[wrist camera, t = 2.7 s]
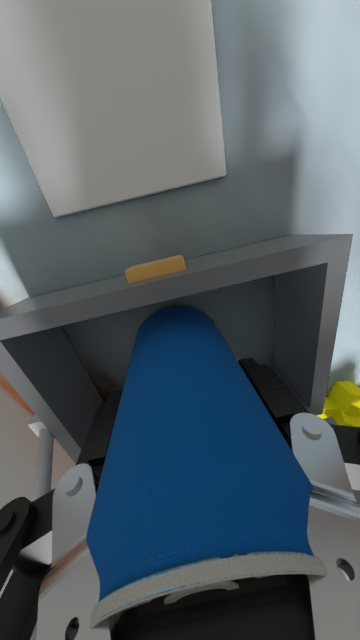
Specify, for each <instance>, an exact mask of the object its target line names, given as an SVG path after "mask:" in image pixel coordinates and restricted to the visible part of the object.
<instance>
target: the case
mask: <svg viewBox="0 0 360 640" xmlns="http://www.w3.org/2000/svg"><path fill="white" fill-rule="evenodd" d="M352 236H353V234H330V235H287V236H283V237H279V238H275V239H270V240H266V241H262V242H258V243H254V244H250V245H245V246H241V247H237V248H233V249H229V250H225V251H220V252H216V253H212V254H208V255H204V256H200V257H195V258H191V259H187V260H184V257H183V256H182V255H181V254H180V255H176V256H172V257H168V258H163V259H159V260H155V261H151V262H147V263H143V264H139V265H134V266H130V267H129V268H128V269H126V270H125V271H124V272H125V275H120V276H116V277H112V278H108V279H104V280H100V281H95V282H91V283H87V284H83V285H79V286H75V287H71V288H66V289H62V290H58V291H54V292H50V293H46V294H41V295H37V296H33V297H29V298H27V299H25V300H22V301H20V302H18V303H16V304H14V305H12V306H9V307H7V308H5V309H3V310H1V311H0V371H1V373H2V374H3V375H4V376H5V377H6V379H7V380H8V381H9V382H10V384H11V385H12V386H13V387H14V389H15V390H16V391H17V392H18V393H19V395H20V396H21V397H22V398H23V400H24V401H25V402H26V403H27V405H28V406H29V407H30V408H31V409H32V411H33V412H34V413H35V415H34V416H33V418H32V419H31V420H30V422H29V423H28V426H29V427H30V428H31V429H32V430H33V432H34V433H35V434H36V435H37V436H38V437H39V439H38V450H37V462H36V474H35V486H34V498H33V501H34V500H36V499H38V498H39V497H41V496H43V495H45V494H46V493H48V492H50V491H51V478H52V460H53V443H54V438H55V439H56V440H57V441H58V443H59V444H60V445H61V446H62V448H63V449H64V450H65V451H66V452H67V454H68V455H69V456H70V457H71V459H72V460H73V461H74V462H75V463H77V460H78V457H79V455H80V452H81V450H82V447H83V444H84V442H85V439H86V436H87V434H88V431H89V430H90V429H89V428H90V426H91V423H92V422H93V421H92V420H93V418H94V415H95V412H96V410H97V409H98V408H99V406H100V405H101V404H102V402H103V400H102V398H101V396H100V395H99V393H98V391H97V389H96V388H95V386H94V384H93V382H92V380H91V379H90V377H89V375H88V373H87V371H86V370H85V368H84V366H83V364H82V362H81V361H80V359H79V357H78V355H77V353H76V352H75V350H74V348H73V346H72V344H71V343H70V341H69V339H68V337H67V336H66V334H65V332H64V330H63V328H62V327H61V326H62V325H67V324H71V323H75V322H79V321H83V320H88V319H92V318H96V317H100V316H104V315H109V314H113V313H117V312H121V311H125V310H130V309H134V308H138V307H142V306H146V305H151V304H155V303H159V302H163V301H167V300H172V299H176V298H180V297H184V296H188V295H193V294H197V293H201V292H205V291H209V290H214V289H218V288H222V287H226V286H230V285H235V284H239V283H243V282H247V281H251V280H256V279H260V278H264V277H268V276H272V275H275V366H274V367H270V368H272V369H273V370H274V371H275V372H276V373H277V374H278V376H279V377H280V379H282V380H283V382H284V383H285V385H287V386H288V388H289V389H290V390H291V391H292V392H293V394H294V395H295V396H296V397H297V398H298V399H299V401H300V402H301V403H302V404H303V405H304V407H305V408H306V409H307V410H308V411H309V412H310V413H311V414H313V415H320V414H323V409H324V403H325V397H326V391H327V385H328V379H329V373H330V367H331V361H332V355H333V349H334V344H335V338H336V332H337V326H338V320H339V314H340V308H341V302H342V296H343V290H344V284H345V278H346V272H347V266H348V260H349V254H350V248H351V242H352ZM323 420H325V421H326V422H327V423H330V424H334V425H338V424H337V423H336V422H335V420H334V419H333V417H329V418H325V419H323ZM352 491H353V494H354V497H355V500H356V502H357V503H358V504H359V505H360V491H359V490H354V489H352ZM36 635H37V623H36V625H35V628H34V631H33V633H32V636H31V639H30V640H36Z"/></svg>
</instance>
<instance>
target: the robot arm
mask: <svg viewBox="0 0 360 640" xmlns="http://www.w3.org/2000/svg"><path fill="white" fill-rule="evenodd" d="M238 363H239V364H240V366H241V368H242V369H243V371H244V373H245V374H246V376H247V378H248V379H249V381H250V382H251V384H252V386H253V387H254V389H255V391H256V392H257V394H258V396H259V397H260V399H261V401H262V402H263V404H264V406H265V407H266V409H267V411H268V412H269V414H270V416H271V417H272V419H273V421H274V422H275V424H276V426H277V427H278V429H279V430H280V432H281V434H282V435H283V437H284V439H285V440H286V442H287V444H288V445H289V447H290V449H291V450H292V452H293V454H294V455H295V457H296V459H297V460H298V462H299V464H300V465H301V467H302V469H303V470H304V472H305V474H306V475H307V477H308V479H309V480H310V482H311V484H312V485H313V488H314V490H312V491H311V494H310V501H309V512H308V526H307V535H308V541H309V545H310V547H311V550H312V552H313V554H314V556H316V557H320V559H321V560H322V562H323V563H324V565H325V567H326V570H327V572H328V576H320V575H308V574H284V575H272V576H267V577H263V578H256V577H250V578H243V579H236V580H230V581H233V582H235V583H237V584H239V588H237V589H233V590H226V589H223V588H218V589H210V590H204V591H200V592H196V593H192V594H189V595H187V596H184V597H182V598H180V599H178V600H177V601H176V602H174V603H170V604H164V599H165V598H166V597H167V596H169V595H170V594H167V595H164V596H160V597H157V598H154V599H152V600H151V601H150V602H149V603H146V604H141V605H138V606H137V607H134V608H132V609H129V610H127V611H125V612H124V613H123V614H122V616H121V617H120V618H119V620H118V621H117V618H116V614H113V615H111V616H110V617H108V618H106V619H104V620H103V621H101V622H100V623H98V624H97V625H96V626H95V627H93V628H91V629H90V621H91V615H92V611H93V607H94V606H95V605H96V604H97V603H99V594H100V581H99V576H98V573H97V570H96V567H95V564H94V562H93V559H92V556H91V554H90V551H89V548H88V546H87V541H86V536H87V530H88V526H89V522H90V518H91V514H92V510H93V506H94V502H95V498H96V494H97V490H98V486H99V482H100V478H101V474H102V470H103V466H104V462H105V458H106V455H107V451H108V447H109V443H110V439H111V435H112V431H113V427H114V423H115V419H116V415H117V411H118V407H119V403H120V399H121V395H122V391H123V387H121V388H117V389H113V390H111V391H110V393H109V396H108V399H107V401H104V402H102V404H101V405H100V406H99V408H98V409H97V410H96V412H95V415H94V418H93V420H92V421H93V422H92V423H91V426H90V428H89V429H90V430H89V431H88V434H87V436H86V439H85V442H84V444H83V447H82V450H81V452H80V455H79V457H78V460H77V463H76V465H75V466H74V467H72V468H71V469H70V470H69V471H67V472H66V474H64V476H63V477H62V478H61V479H60V481H59V482H58V484H57V486H56V488H55V489H53V490H52V491H50V492H48V493H46V494H45V495H43V496H41V497H39V498H38V499H36V500H34V501H33V502H31V501H29V500H28V499H27V498H25V497H19V498H17V499H14V500H13V501H11V502H9V503H8V504H7V505H5V506H4V507H3V508H2V509H1V510H0V591H1V589H2V587H3V585H4V583H5V581H6V579H7V577H8V575H9V573H10V571H11V569H12V570H14V572H13V574H12V576H11V577H10V579H9V582H8V584H7V586H6V588H5V590H4V592H3V594H2V596H1V598H0V640H30V639H31V636H32V633H33V631H34V628H35V625H36V623H37V635H36V640H360V505H359V504H358V503H357V502H356V500H355V497H354V494H353V491H352V489H354V490H359V491H360V427H355V426H343V425H334V424H330V423H327V422H326V421H325V420H323V419H322V418H320V417H318V416H316V415H313V414H311V413H310V412H309V411H308V410H307V409H306V408H305V407H304V405H303V404H302V403H301V402H300V401H299V399H298V398H297V397H296V396H295V395H294V394H293V392H292V391H291V390H290V389H289V388H288V386H287V385H285V383H284V382H283V380H282V379H280V377H279V376H278V374H277V373H276V372H275V371H274V370H273V369H272V368H270V367H268V366H267V365H265V364H264V365H260V366H259V365H258V364H257V363H256V361H255V360H254V359H253V358H252V357H251V358H246V359H242V360H239V361H238ZM171 594H172V593H171Z"/></svg>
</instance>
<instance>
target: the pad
mask: <svg viewBox="0 0 360 640" xmlns="http://www.w3.org/2000/svg"><path fill="white" fill-rule="evenodd" d="M0 99H1V101H2V104H3V106H4V108H5V110H6V112H7V115H8V117H9V119H10V121H11V124H12V126H13V128H14V130H15V133H16V135H17V137H18V139H19V141H20V144H21V146H22V148H23V150H24V153H25V155H26V157H27V159H28V161H29V164H30V166H31V168H32V170H33V173H34V175H35V177H36V179H37V181H38V184H39V186H40V188H41V190H42V193H43V195H44V197H45V199H46V202H47V204H48V206H49V208H50V210H51V213H52V215H53V217H61V216H65V215H69V214H74V213H78V212H82V211H86V210H90V209H94V208H98V207H102V206H106V205H110V204H115V203H119V202H123V201H127V200H131V199H135V198H139V197H143V196H147V195H151V194H155V193H160V192H164V191H168V190H172V189H176V188H180V187H184V186H188V185H192V184H196V183H201V182H205V181H209V180H213V179H217V178H221V177H225V176H226V175H227V174H226V163H225V151H224V140H223V129H222V117H221V106H220V95H219V83H218V72H217V60H216V49H215V38H214V26H213V15H212V4H211V0H0Z"/></svg>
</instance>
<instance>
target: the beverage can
mask: <svg viewBox="0 0 360 640" xmlns="http://www.w3.org/2000/svg"><path fill="white" fill-rule="evenodd" d="M312 490H314V488H313V485H312V484H311V482H310V480H309V479H308V477H307V475H306V474H305V472H304V470H303V469H302V467H301V465H300V464H299V462H298V460H297V459H296V457H295V455H294V454H293V452H292V450H291V449H290V447H289V445H288V444H287V442H286V440H285V439H284V437H283V435H282V434H281V432H280V430H279V429H278V427H277V426H276V424H275V422H274V421H273V419H272V417H271V416H270V414H269V412H268V411H267V409H266V407H265V406H264V404H263V402H262V401H261V399H260V397H259V396H258V394H257V392H256V391H255V389H254V387H253V386H252V384H251V382H250V381H249V379H248V378H247V376H246V374H245V373H244V371H243V369H242V368H241V366H240V364H239V363H238V361H237V359H236V358H235V356H234V354H233V353H232V351H231V349H230V348H229V346H228V344H227V343H226V341H225V339H224V338H223V336H222V334H221V333H220V331H219V330H218V328H217V326H216V325H215V323H214V322H213V320H212V319H211V318H210V317H209V316H208V315H206V314H205V313H204V312H202V311H200V310H198V309H195V308H192V307H188V306H172V307H167V308H164V309H161V310H159V311H157V312H155V313H154V314H152V315H151V316H149V317H148V318H147V319H146V320H145V321H144V323H143V324H142V325H141V327H140V329H139V330H138V333H137V336H136V340H135V344H134V348H133V352H132V356H131V360H130V364H129V368H128V372H127V375H126V379H125V383H124V387H123V391H122V395H121V399H120V403H119V407H118V411H117V415H116V419H115V423H114V427H113V431H112V435H111V439H110V443H109V447H108V451H107V455H106V458H105V462H104V466H103V470H102V474H101V478H100V482H99V486H98V490H97V494H96V498H95V502H94V506H93V510H92V514H91V518H90V522H89V526H88V530H87V536H86V541H87V546H88V548H89V551H90V554H91V556H92V559H93V562H94V564H95V567H96V570H97V573H98V576H99V581H100V594H99V603H97V604H96V605H95V606H94V607H93V611H92V615H91V621H90V629H91V628H93V627H95V626H96V625H97V624H98V623H100V622H101V621H103V620H104V619H106V618H108V617H110V616H111V615H113V614H116V618H117V621H118V620H119V618H120V617H121V616H122V614H123V613H124V612H125V611H127V610H129V609H132V608H134V607H137V606H138V605H141V604H146V603H149V602H150V601H151V600H152V599H154V598H157V597H160V596H164V595H167V594H170V595H169V596H167V597H166V598H165V599H164V604H170V603H174V602H176V601H177V600H178V599H180V598H182V597H184V596H187V595H189V594H192V593H196V592H200V591H204V590H210V589H218V588H223V589H226V590H233V589H237V588H239V584H237V583H235V582H233V581H230V580H236V579H243V578H250V577H256V578H263V577H267V576H272V575H284V574H308V575H320V576H328V572H327V570H326V567H325V565H324V563H323V562H322V560H321V559H320V557H316V556H314V554H313V552H312V550H311V547H310V545H309V541H308V535H307V526H308V512H309V501H310V494H311V491H312ZM171 593H172V594H171Z"/></svg>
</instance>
